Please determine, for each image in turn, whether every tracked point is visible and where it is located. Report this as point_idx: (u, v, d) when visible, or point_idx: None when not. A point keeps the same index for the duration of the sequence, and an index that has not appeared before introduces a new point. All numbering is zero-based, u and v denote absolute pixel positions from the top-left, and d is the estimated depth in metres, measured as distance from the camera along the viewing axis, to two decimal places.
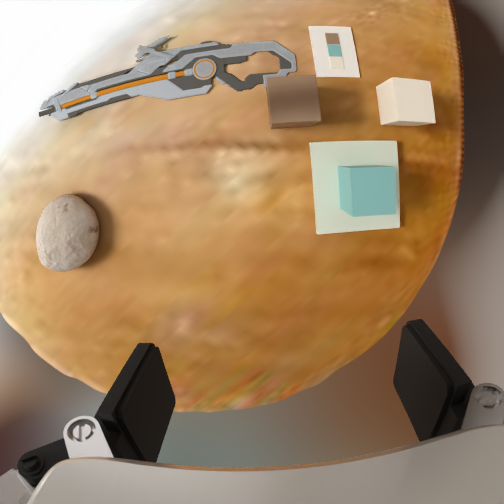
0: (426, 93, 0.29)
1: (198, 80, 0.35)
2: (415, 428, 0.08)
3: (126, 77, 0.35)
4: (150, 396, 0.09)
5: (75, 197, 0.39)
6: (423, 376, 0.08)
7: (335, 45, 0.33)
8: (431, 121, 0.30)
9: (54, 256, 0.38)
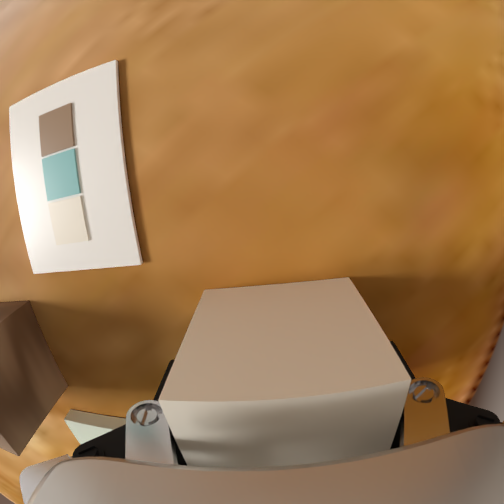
0: (365, 435, 0.06)
1: None
2: None
3: None
4: None
5: None
6: None
7: (63, 154, 0.10)
8: None
9: None
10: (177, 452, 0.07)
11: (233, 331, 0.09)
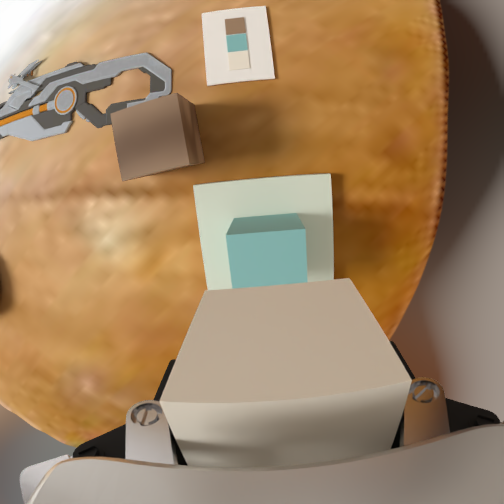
0: (365, 435, 0.06)
1: (58, 115, 0.25)
2: None
3: (0, 113, 0.24)
4: None
5: None
6: None
7: (239, 35, 0.23)
8: None
9: None
10: (177, 452, 0.07)
11: (234, 332, 0.09)
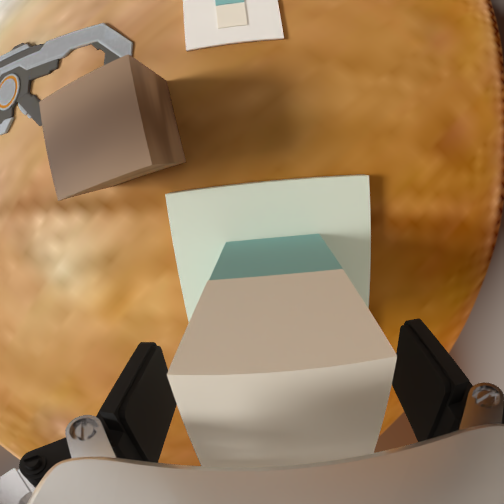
0: (356, 410, 0.07)
1: None
2: (413, 427, 0.08)
3: None
4: (152, 395, 0.09)
5: None
6: (421, 375, 0.08)
7: None
8: None
9: None
10: None
11: (234, 315, 0.09)
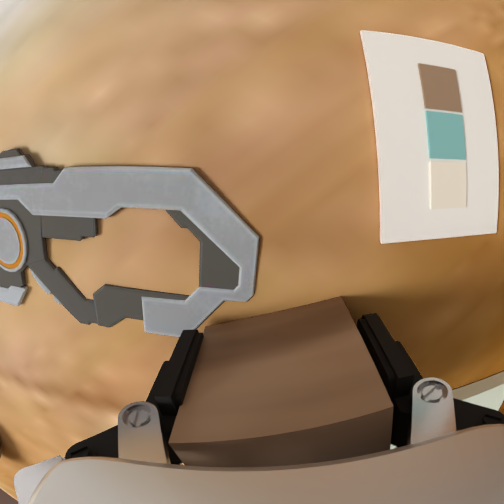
0: None
1: (0, 268, 0.12)
2: None
3: None
4: None
5: None
6: None
7: (449, 116, 0.09)
8: None
9: None
10: (169, 453, 0.07)
11: None
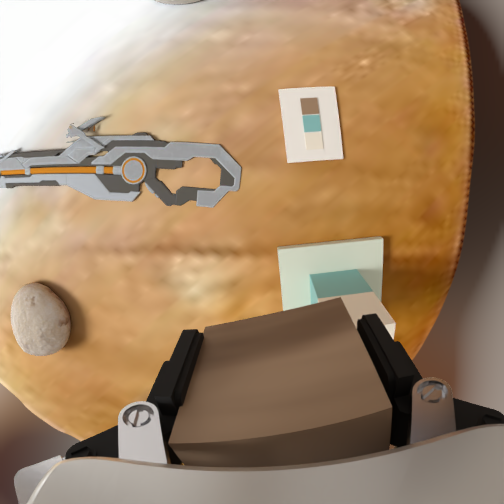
0: None
1: (125, 183, 0.32)
2: None
3: (56, 160, 0.31)
4: None
5: (41, 289, 0.35)
6: None
7: (313, 116, 0.29)
8: None
9: (30, 346, 0.34)
10: (170, 453, 0.07)
11: None
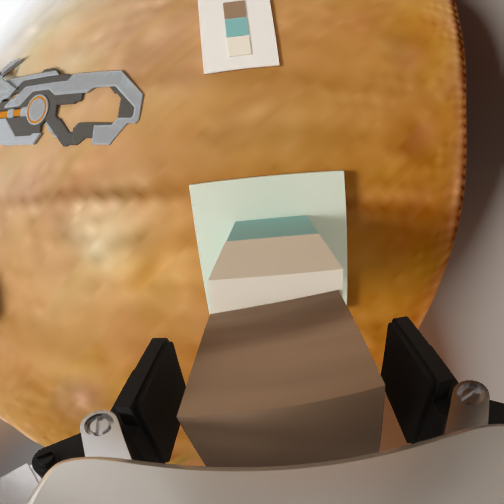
0: None
1: (29, 125, 0.22)
2: (400, 424, 0.08)
3: None
4: (165, 390, 0.09)
5: None
6: (407, 372, 0.08)
7: (238, 19, 0.20)
8: None
9: None
10: (134, 459, 0.07)
11: (246, 255, 0.15)
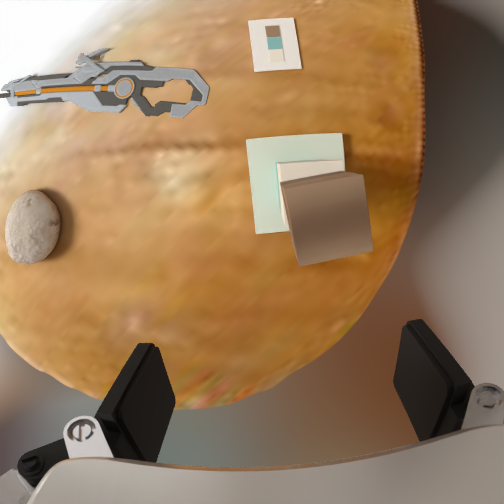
0: None
1: (116, 98, 0.35)
2: (415, 428, 0.08)
3: (64, 81, 0.34)
4: (150, 396, 0.09)
5: (38, 192, 0.38)
6: (423, 376, 0.08)
7: (275, 38, 0.32)
8: None
9: (19, 248, 0.37)
10: None
11: (293, 162, 0.28)
